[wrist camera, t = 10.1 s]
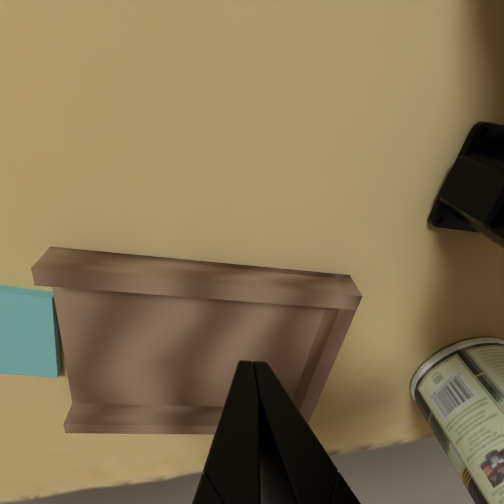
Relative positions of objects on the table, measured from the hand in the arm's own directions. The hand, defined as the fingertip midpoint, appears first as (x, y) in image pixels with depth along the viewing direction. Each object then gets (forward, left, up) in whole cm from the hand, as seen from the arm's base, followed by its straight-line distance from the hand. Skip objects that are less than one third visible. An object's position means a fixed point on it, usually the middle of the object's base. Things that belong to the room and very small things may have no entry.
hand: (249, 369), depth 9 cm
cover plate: (+15, +11, -13) cm, 23 cm away
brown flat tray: (+1, +12, -12) cm, 17 cm away
